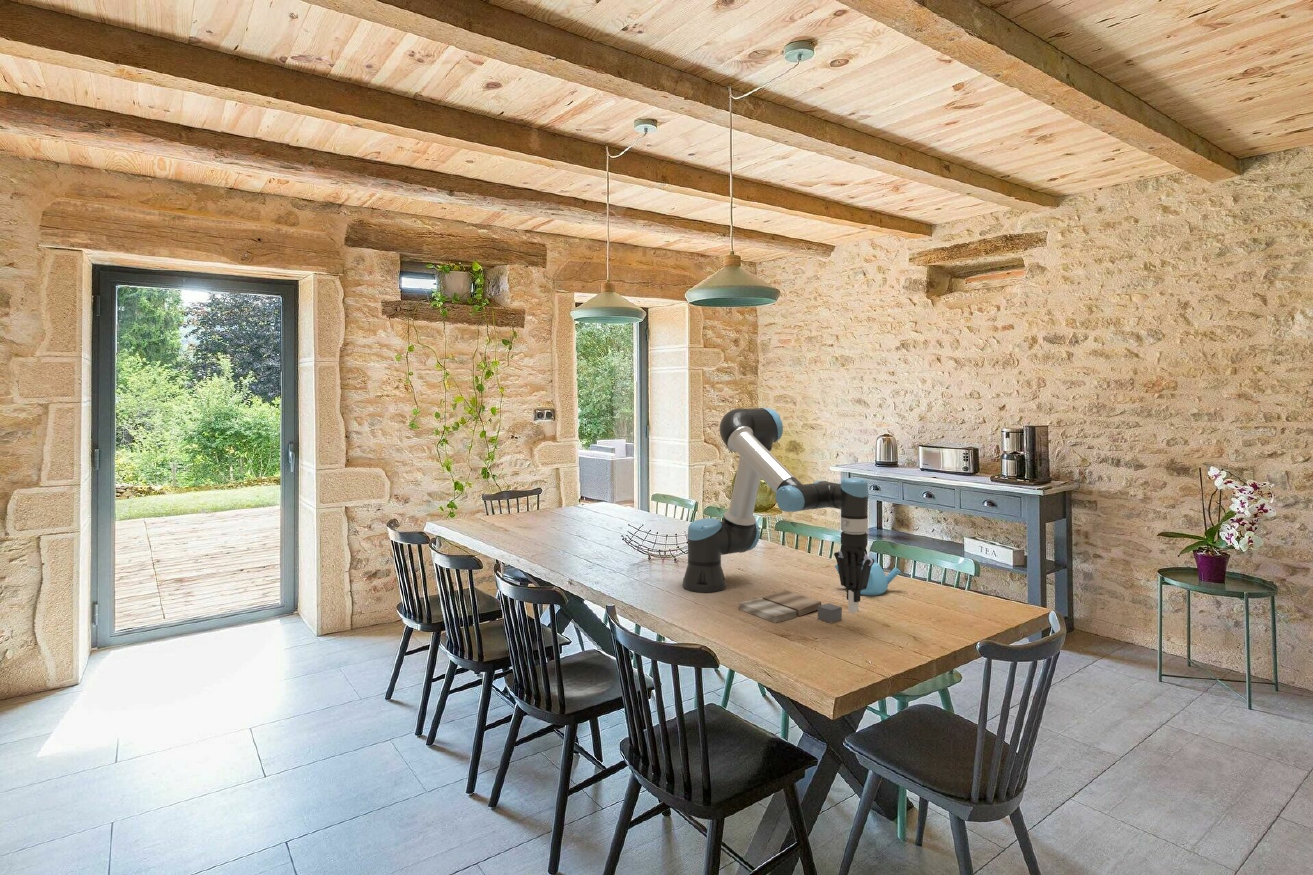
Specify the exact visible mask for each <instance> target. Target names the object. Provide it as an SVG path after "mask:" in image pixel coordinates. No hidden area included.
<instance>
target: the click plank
mask: <svg viewBox="0 0 1313 875" xmlns="http://www.w3.org/2000/svg"><path fill="white" fill-rule="evenodd" d="M761 599H764V600H767V601H770V602H773V603H775V604H778V605H781V606H784V607H787V608H790V609H792V610H795V611H796V617H801V616H803V615H807V614H809V613H812V612H815V611H818V606H821V605H822V601H820V600H818V599H814V598H811V597H808V596H804V595H802V594H799V593H796V592H792V591H789V590H786V589H783V590H780V591H777V592H773V593H770V594H767V595H765V596H762V598H761Z"/></svg>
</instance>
